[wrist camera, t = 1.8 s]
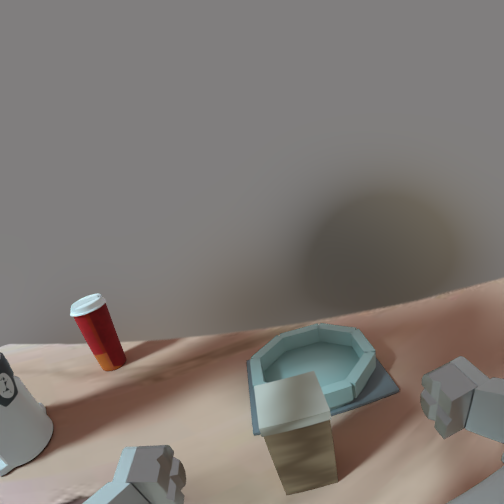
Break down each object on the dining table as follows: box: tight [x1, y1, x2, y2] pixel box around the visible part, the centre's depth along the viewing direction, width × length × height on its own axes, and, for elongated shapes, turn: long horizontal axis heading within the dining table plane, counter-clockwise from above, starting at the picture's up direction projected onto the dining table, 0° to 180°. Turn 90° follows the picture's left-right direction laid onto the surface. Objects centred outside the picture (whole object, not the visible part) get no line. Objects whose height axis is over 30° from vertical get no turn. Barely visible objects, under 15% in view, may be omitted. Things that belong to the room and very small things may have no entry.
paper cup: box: [70, 294, 126, 371], centre depth 53 cm, size 8×8×14 cm
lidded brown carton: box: [254, 371, 338, 495], centre depth 23 cm, size 5×5×11 cm
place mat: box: [247, 358, 399, 435], centre depth 39 cm, size 18×16×1 cm
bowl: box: [250, 323, 376, 411], centre depth 39 cm, size 16×16×3 cm
